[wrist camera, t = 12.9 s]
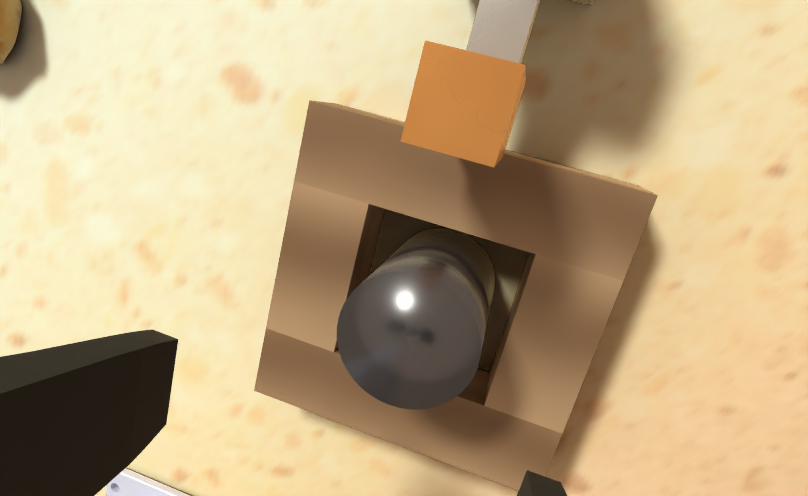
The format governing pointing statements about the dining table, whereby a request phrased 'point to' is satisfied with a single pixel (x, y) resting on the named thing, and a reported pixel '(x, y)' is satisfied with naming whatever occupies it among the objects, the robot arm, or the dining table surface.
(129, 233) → the dining table surface
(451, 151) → the lock pin
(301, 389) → the socket block
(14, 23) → the pastry
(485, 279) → the dark grey short cylinder
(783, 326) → the dining table surface
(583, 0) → the pin mount
